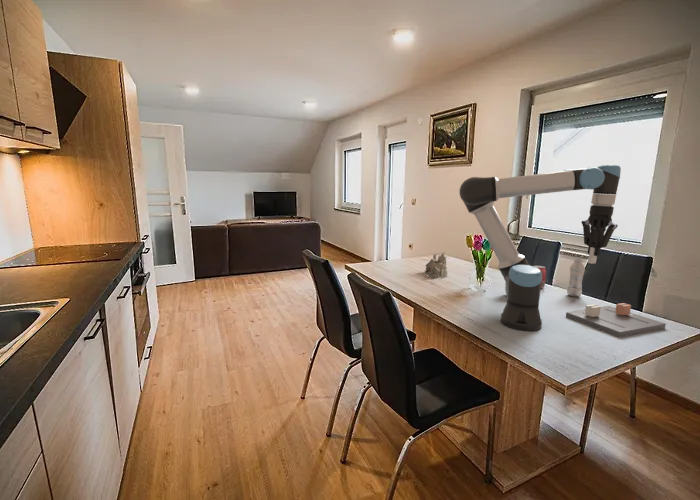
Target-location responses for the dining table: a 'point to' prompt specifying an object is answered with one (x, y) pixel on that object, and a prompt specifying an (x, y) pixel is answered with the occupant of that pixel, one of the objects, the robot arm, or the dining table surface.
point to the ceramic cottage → (437, 267)
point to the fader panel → (617, 322)
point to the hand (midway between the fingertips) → (591, 263)
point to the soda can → (542, 275)
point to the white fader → (592, 310)
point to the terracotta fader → (623, 309)
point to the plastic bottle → (576, 278)
